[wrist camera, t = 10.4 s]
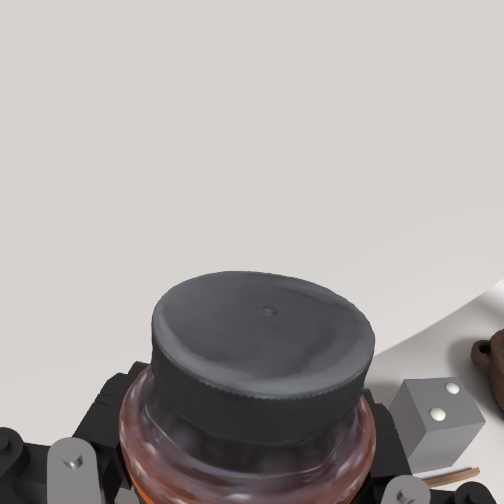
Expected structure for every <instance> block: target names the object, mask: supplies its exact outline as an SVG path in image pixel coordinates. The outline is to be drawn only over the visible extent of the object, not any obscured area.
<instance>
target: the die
mask: <svg viewBox="0 0 504 504" xmlns="http://www.w3.org/2000/svg"><path fill="white" fill-rule="evenodd" d="M389 412H390V413H391V415H392V418H393V420H394V423H395V429H397V431H398V434H399V438H400V440H401V443H402V446H403V449H404V451H405V454H406V457H407V460H408V463H409V466H410V469H411V472H412V474H414V473H420V472H426V471H431V470H436V469H441V468H446V467H450V466H452V465H453V464H454V463H455V461H456V460H457V459H458V458H459V457H460V455H461V454H462V453H463V452H464V450H465V449H466V448H467V447H468V445H469V444H470V443H471V441H472V440H473V439H474V437H475V436H476V435H477V433H478V432H479V431H480V429H481V428H482V426H483V425H484V424H485V422H486V421H485V419H484V417H483V416H482V414H481V412H480V411H479V409H478V407H477V406H476V404H475V402H474V401H473V399H472V397H471V396H470V394H469V393H468V391H467V389H466V388H465V386H464V385H463V383H462V382H461V380H460V378H459V377H450V378H432V379H404V380H403V383H402V385H401V387H400V389H399V391H398V393H397V395H396V397H395V399H394V401H393V403H392V405H391V407H390V409H389Z"/></svg>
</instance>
